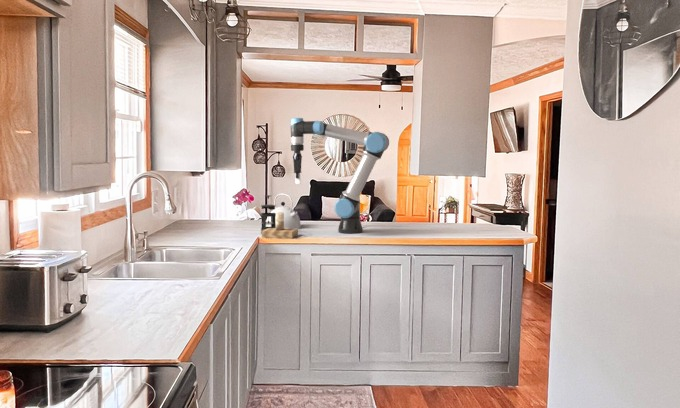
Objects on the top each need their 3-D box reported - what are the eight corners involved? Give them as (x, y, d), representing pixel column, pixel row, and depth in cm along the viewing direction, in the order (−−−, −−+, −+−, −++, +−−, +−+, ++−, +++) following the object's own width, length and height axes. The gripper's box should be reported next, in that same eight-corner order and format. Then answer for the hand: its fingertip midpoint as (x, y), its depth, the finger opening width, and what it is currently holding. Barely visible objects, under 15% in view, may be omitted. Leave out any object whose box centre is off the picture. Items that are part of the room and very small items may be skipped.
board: (298, 235, 333) (297, 228, 333) (292, 238, 319) (291, 231, 319) (268, 234, 336) (268, 227, 336) (261, 238, 322) (261, 231, 322)
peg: (285, 236, 330) (284, 212, 328) (283, 237, 325) (282, 213, 324) (277, 235, 331) (276, 212, 329) (274, 237, 326) (274, 213, 324)
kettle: (310, 228, 364) (309, 193, 361) (283, 231, 348) (282, 195, 345) (285, 224, 381) (285, 191, 379) (258, 228, 365) (258, 193, 363)
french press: (270, 234, 332) (270, 196, 330) (257, 233, 336) (256, 195, 334) (280, 232, 343) (280, 194, 341) (267, 231, 347) (267, 194, 345)
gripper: (293, 144, 340) (294, 183, 342) (288, 144, 327) (288, 184, 329) (305, 144, 339) (306, 183, 341) (300, 144, 326) (301, 184, 328)
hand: (297, 183), depth 335 cm, fingers closed
